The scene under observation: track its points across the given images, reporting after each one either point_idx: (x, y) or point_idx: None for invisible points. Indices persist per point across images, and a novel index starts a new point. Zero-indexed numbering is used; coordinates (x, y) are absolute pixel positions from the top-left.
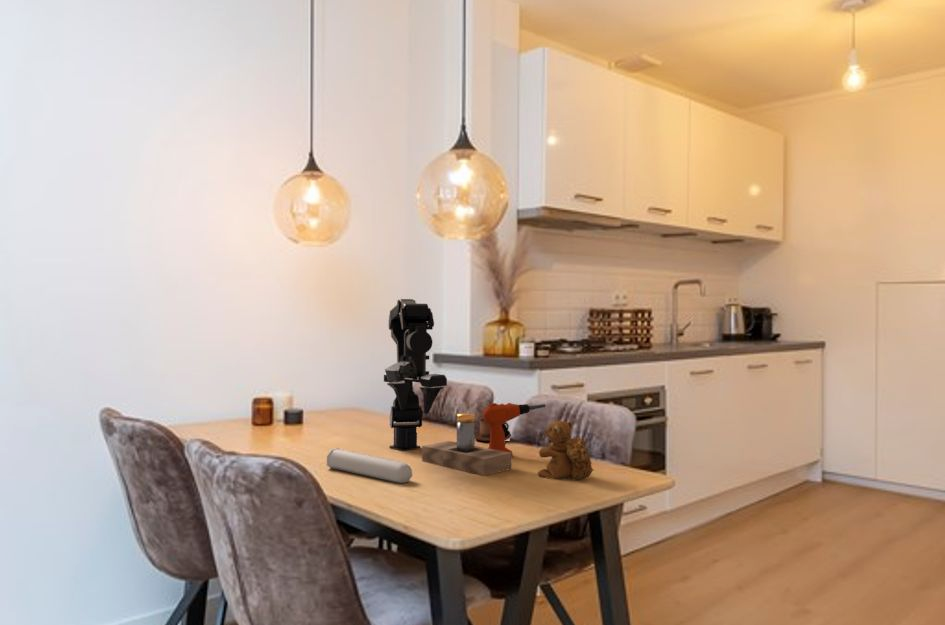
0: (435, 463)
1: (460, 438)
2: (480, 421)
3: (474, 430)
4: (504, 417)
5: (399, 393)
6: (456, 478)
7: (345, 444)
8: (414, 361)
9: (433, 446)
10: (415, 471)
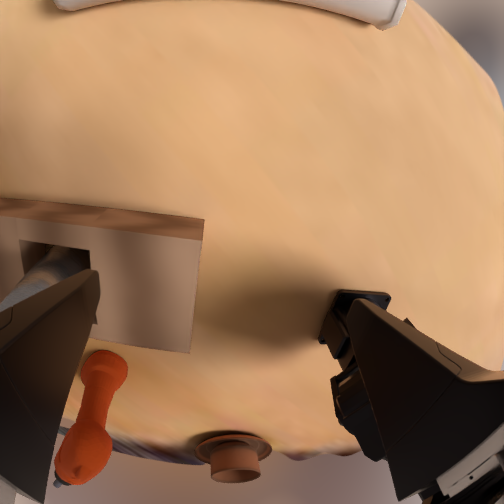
0: (138, 212)
1: (29, 278)
2: (251, 468)
3: None
4: (63, 442)
5: (432, 373)
6: (4, 125)
7: (476, 258)
8: None
9: (160, 257)
10: (125, 93)
